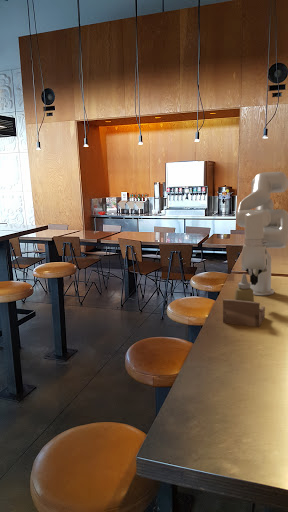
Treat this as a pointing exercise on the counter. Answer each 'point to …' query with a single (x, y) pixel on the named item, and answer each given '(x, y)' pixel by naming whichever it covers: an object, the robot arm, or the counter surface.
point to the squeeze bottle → (244, 290)
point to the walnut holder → (243, 312)
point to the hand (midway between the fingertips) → (254, 283)
